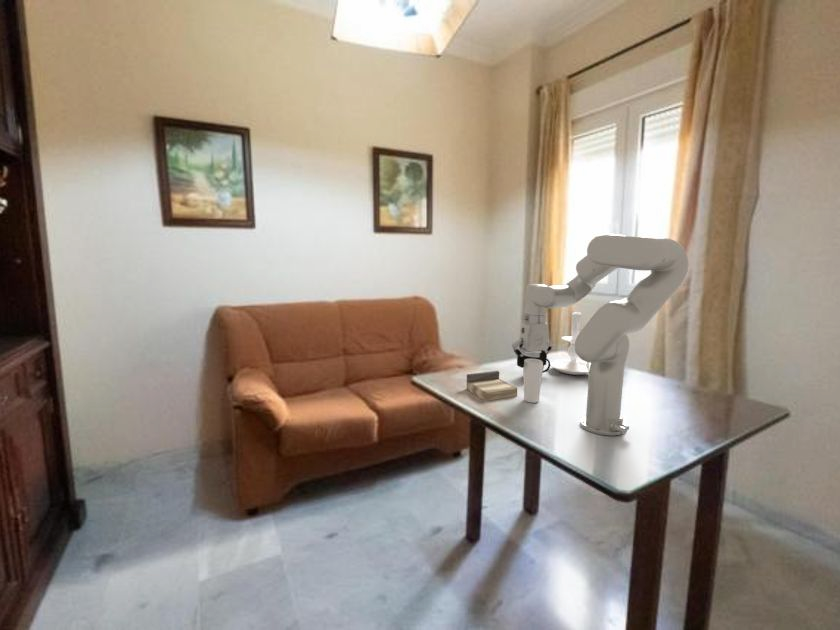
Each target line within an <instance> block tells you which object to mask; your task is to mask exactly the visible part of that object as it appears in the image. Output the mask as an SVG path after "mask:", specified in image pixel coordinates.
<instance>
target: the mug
mask: <svg viewBox="0 0 840 630" xmlns="http://www.w3.org/2000/svg"><path fill="white" fill-rule="evenodd" d="M540 353H541V352H538V351H535V352H527V351H526V353H525V354H524V356H523V357H524V358H525V359H539V357H540ZM525 359H524V360H525ZM546 362H547V364H548V365H547V368H546V369H544V367H545V365H543V373H542V374H544V373H546V372H549V369H550V367H551V366H550V362H551V361H550V360H549V359H548V358H547V360H546Z"/></svg>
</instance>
